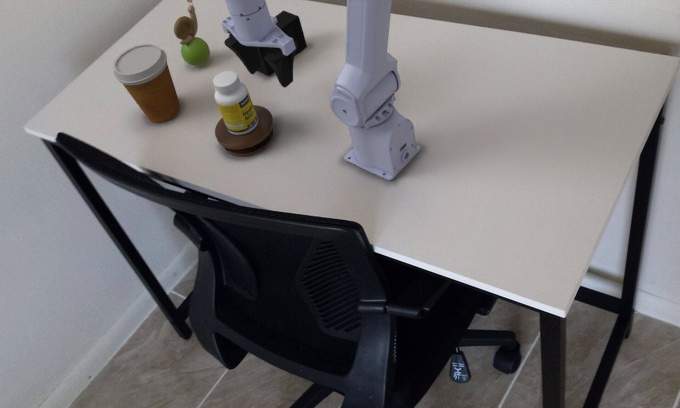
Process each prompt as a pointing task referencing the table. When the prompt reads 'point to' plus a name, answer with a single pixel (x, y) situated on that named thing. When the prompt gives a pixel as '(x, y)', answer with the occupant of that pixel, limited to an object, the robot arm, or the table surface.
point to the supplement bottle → (234, 103)
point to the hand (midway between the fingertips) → (271, 77)
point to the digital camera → (292, 29)
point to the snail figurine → (191, 39)
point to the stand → (247, 135)
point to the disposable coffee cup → (148, 81)
